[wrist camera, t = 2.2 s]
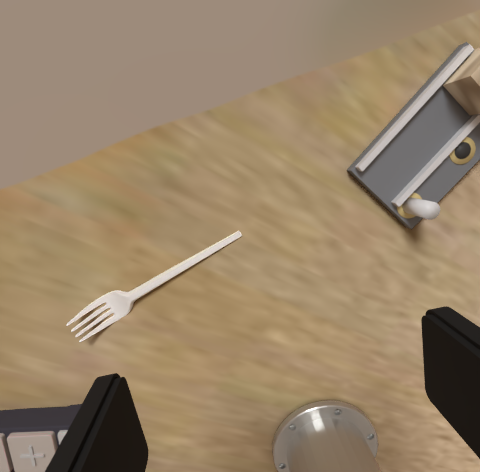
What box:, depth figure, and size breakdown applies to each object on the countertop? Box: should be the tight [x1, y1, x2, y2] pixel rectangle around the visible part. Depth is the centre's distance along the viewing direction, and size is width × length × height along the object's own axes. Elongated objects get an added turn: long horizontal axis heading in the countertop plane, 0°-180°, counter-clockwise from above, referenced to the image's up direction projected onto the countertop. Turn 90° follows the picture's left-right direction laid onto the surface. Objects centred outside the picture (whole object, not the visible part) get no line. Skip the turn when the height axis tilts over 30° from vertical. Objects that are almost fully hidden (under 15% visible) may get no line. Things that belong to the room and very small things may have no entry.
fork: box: [66, 231, 242, 342], centre depth 34 cm, size 3×20×2 cm, turn 120°
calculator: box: [0, 404, 82, 472], centre depth 37 cm, size 11×4×15 cm
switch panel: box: [347, 42, 480, 229], centre depth 30 cm, size 9×15×4 cm, turn 139°
